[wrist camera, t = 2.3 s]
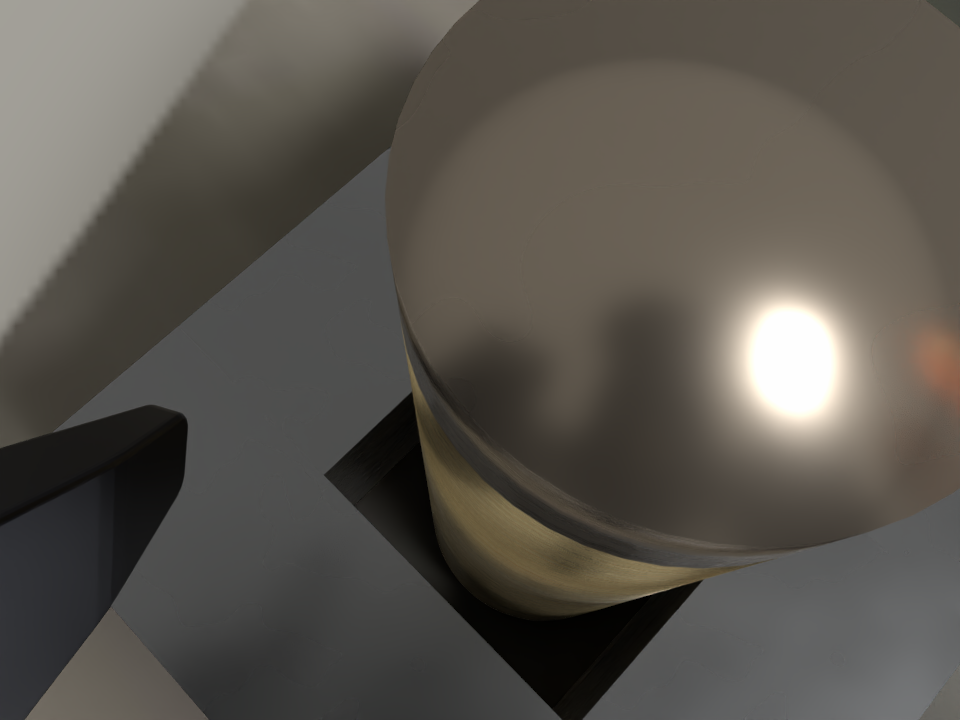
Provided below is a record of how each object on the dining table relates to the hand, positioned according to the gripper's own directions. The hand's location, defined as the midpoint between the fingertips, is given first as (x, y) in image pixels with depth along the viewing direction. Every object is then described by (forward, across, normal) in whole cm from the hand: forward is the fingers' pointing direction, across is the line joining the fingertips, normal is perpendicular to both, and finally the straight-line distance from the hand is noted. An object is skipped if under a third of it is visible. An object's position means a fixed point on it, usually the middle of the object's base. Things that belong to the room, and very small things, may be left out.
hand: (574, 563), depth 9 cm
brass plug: (+8, 0, +6) cm, 10 cm away
